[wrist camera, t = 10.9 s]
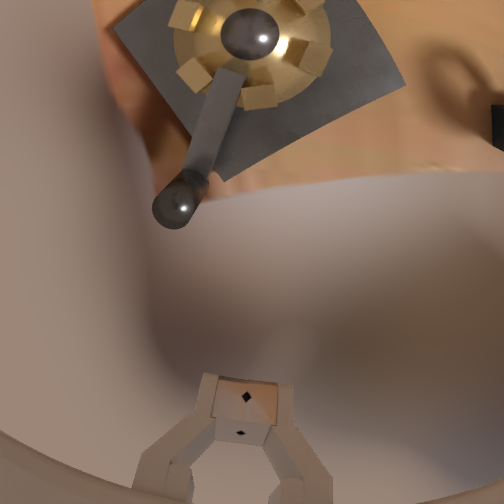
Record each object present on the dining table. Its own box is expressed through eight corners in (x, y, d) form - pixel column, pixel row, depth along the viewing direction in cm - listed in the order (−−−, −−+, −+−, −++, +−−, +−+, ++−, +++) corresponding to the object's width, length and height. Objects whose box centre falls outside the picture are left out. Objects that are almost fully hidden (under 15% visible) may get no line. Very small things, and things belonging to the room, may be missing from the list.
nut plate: (122, 30, 22) (111, 28, 20) (287, -73, 16) (287, -83, 14) (228, 175, 29) (223, 183, 27) (398, 84, 23) (407, 85, 21)
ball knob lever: (214, -35, 17) (183, -75, 10) (346, 9, 18) (374, -19, 11) (143, 162, 27) (94, 199, 20) (257, 204, 28) (245, 258, 21)
